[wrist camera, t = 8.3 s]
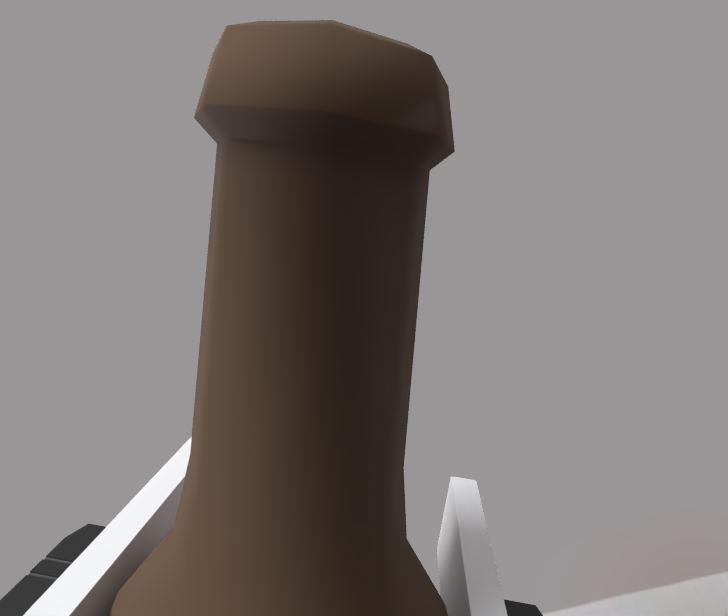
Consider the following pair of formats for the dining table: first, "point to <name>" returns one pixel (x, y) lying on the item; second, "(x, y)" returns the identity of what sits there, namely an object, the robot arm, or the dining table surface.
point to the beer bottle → (305, 331)
